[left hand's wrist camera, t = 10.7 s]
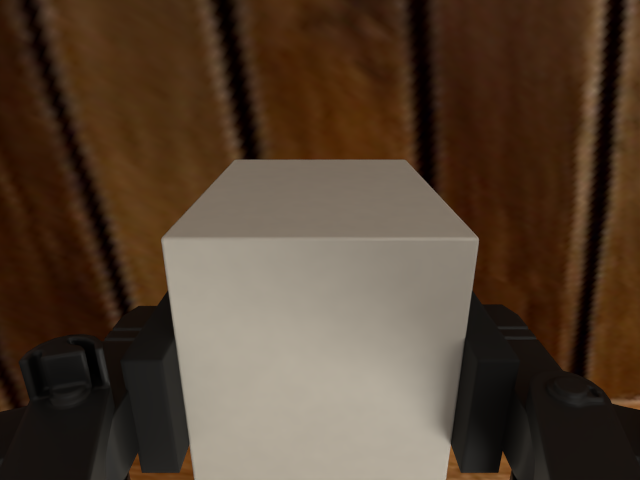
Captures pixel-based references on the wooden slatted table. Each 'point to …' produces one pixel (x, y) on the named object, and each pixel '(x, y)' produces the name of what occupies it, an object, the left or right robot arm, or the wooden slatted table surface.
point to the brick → (320, 321)
